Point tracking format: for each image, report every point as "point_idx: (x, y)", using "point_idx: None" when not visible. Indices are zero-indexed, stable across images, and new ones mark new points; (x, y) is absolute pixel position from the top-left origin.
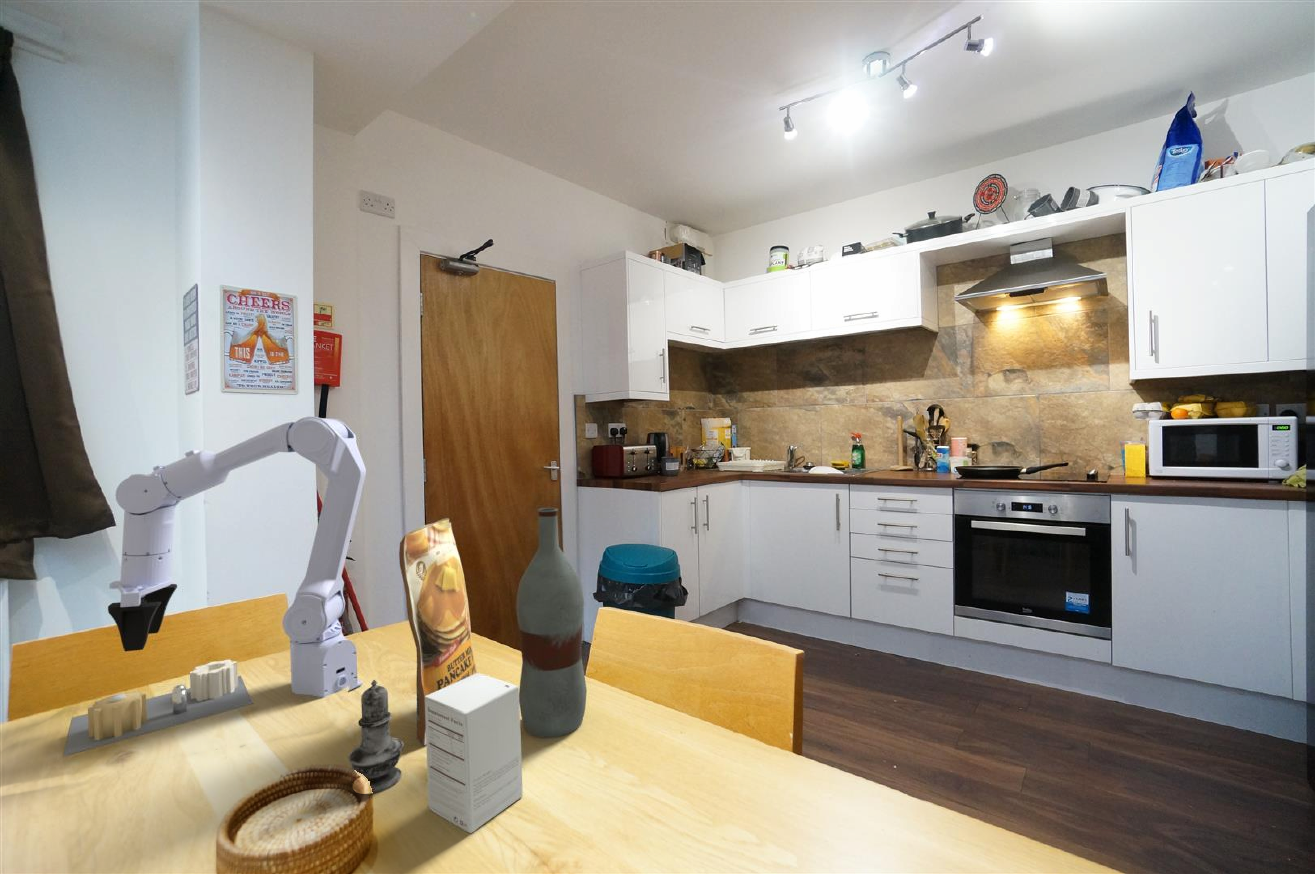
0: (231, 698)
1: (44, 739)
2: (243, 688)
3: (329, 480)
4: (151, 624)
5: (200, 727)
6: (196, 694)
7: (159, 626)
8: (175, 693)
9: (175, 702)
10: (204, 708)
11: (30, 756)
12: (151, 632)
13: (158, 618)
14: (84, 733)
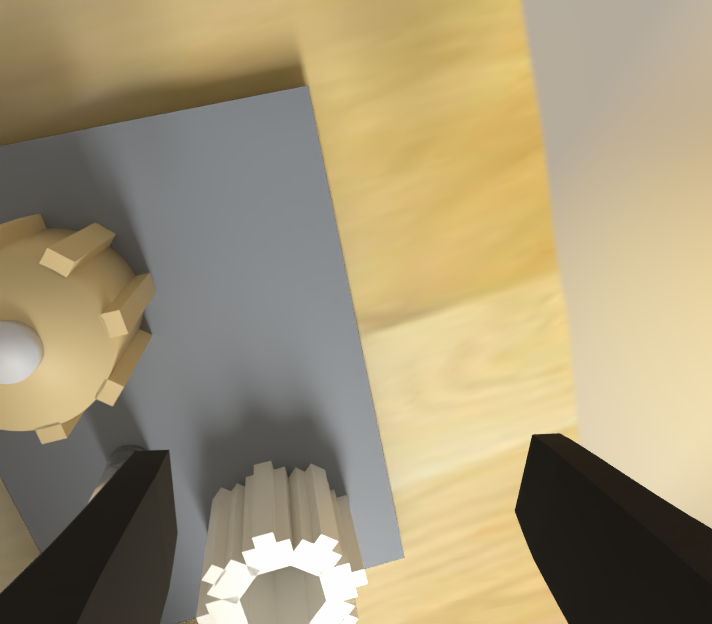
0: (177, 581)
1: (190, 19)
2: None
3: None
4: (554, 536)
5: (20, 522)
6: (236, 495)
7: (535, 556)
8: None
9: (96, 486)
10: None
11: (14, 18)
12: (522, 491)
13: (575, 607)
14: (77, 188)
